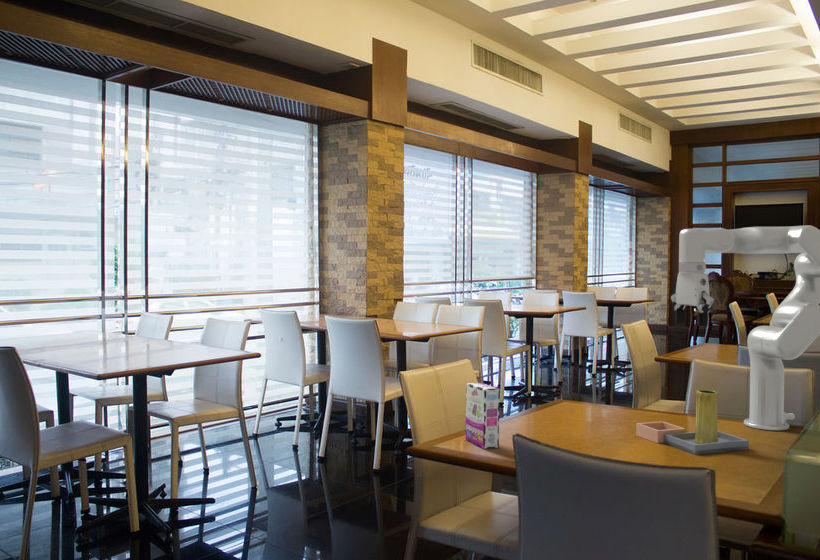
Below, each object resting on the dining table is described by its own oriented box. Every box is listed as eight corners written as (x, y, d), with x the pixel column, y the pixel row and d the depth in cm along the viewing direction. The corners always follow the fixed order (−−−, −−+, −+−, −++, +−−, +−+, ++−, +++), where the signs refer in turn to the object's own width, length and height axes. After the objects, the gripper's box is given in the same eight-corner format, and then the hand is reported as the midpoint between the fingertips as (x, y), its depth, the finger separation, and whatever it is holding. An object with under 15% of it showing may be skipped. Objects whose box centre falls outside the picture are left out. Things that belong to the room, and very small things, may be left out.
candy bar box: (500, 448, 182) (500, 388, 181) (484, 449, 180) (484, 389, 179) (480, 438, 192) (480, 381, 192) (464, 439, 190) (465, 382, 190)
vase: (720, 446, 181) (721, 394, 181) (697, 444, 183) (697, 393, 182) (715, 440, 187) (715, 389, 187) (692, 439, 189) (692, 389, 188)
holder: (663, 432, 200) (663, 421, 200) (685, 440, 191) (685, 428, 191) (636, 435, 197) (636, 423, 197) (657, 443, 188) (657, 431, 188)
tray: (715, 438, 193) (716, 430, 193) (748, 449, 182) (748, 440, 182) (664, 443, 188) (664, 434, 188) (694, 454, 177) (694, 445, 176)
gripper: (723, 269, 197) (722, 326, 198) (682, 268, 214) (681, 322, 214) (702, 269, 195) (701, 327, 195) (662, 268, 211) (662, 322, 212)
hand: (691, 324), depth 205 cm, fingers open, 9 cm apart
